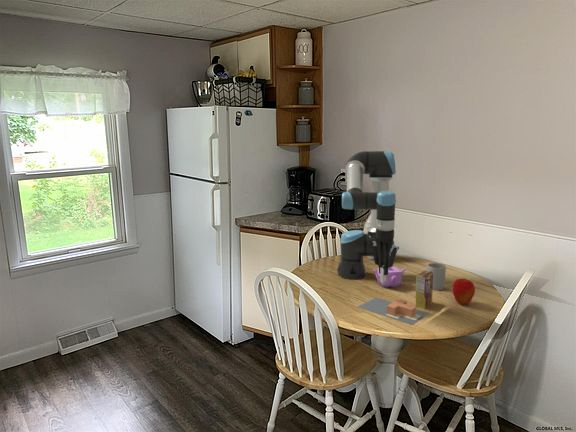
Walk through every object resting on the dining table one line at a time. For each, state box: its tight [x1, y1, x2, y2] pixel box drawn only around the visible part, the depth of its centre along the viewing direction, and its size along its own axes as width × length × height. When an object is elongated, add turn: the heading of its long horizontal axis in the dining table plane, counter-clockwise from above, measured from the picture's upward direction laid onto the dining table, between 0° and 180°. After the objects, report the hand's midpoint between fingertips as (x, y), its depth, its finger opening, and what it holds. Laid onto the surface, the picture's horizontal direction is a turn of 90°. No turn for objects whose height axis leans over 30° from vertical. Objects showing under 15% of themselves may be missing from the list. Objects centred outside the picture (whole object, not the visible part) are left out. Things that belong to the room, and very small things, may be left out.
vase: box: [362, 214, 374, 261], centre depth 262 cm, size 13×13×28 cm
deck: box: [357, 297, 430, 326], centre depth 189 cm, size 26×15×1 cm, turn 47°
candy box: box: [415, 269, 434, 310], centre depth 193 cm, size 9×4×15 cm, turn 140°
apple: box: [452, 278, 476, 306], centre depth 197 cm, size 9×9×12 cm
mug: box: [426, 262, 447, 291], centre depth 218 cm, size 12×8×11 cm
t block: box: [387, 298, 417, 318], centre depth 186 cm, size 10×10×4 cm
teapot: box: [371, 266, 408, 289], centre depth 218 cm, size 18×13×10 cm
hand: (383, 281), depth 193 cm, fingers closed
